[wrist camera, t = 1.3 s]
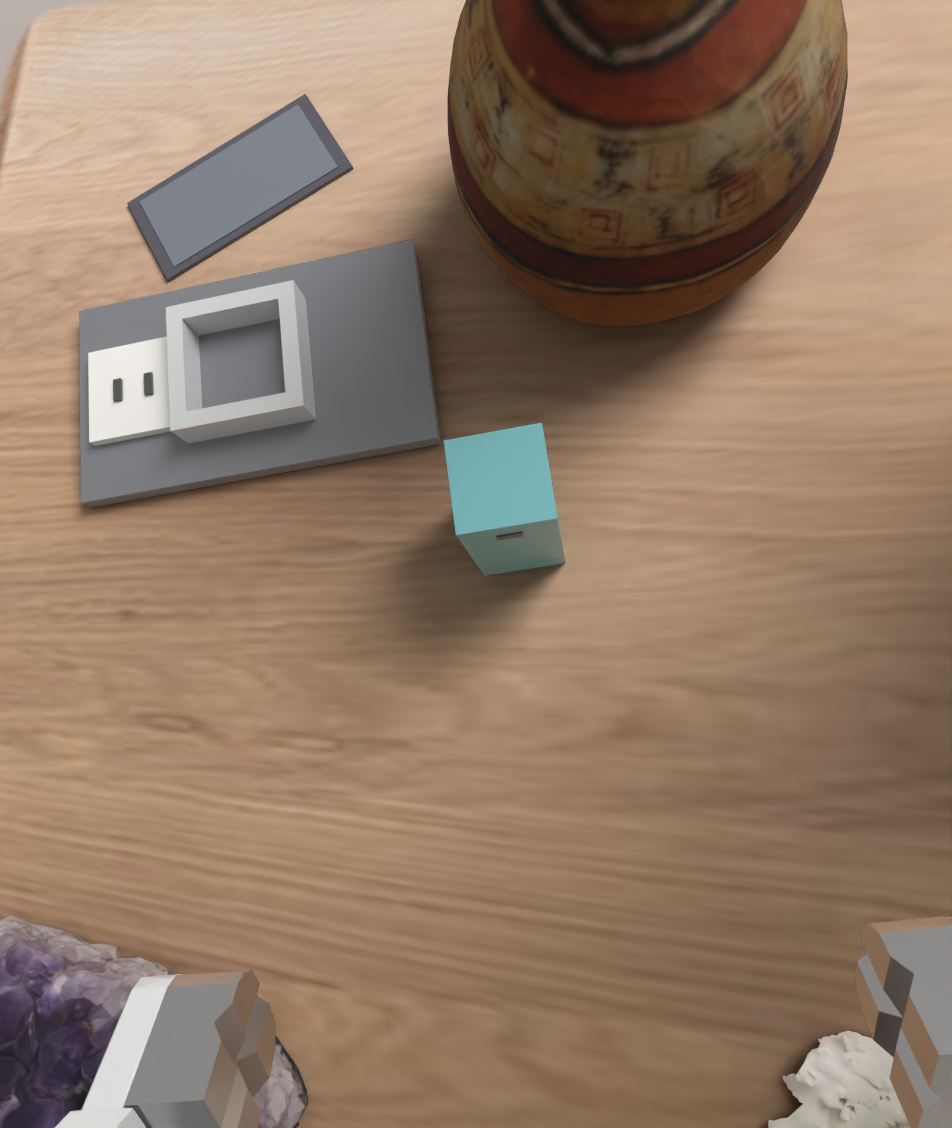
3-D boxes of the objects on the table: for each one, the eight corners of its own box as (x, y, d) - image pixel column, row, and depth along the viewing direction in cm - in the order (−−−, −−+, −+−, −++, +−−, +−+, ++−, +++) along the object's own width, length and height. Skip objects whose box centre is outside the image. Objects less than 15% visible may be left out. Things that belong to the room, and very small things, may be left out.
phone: (134, 211, 52) (126, 202, 51) (309, 103, 52) (304, 92, 51) (173, 286, 50) (166, 278, 49) (356, 175, 50) (351, 165, 49)
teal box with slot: (552, 485, 43) (541, 422, 34) (565, 564, 42) (557, 519, 33) (474, 499, 43) (443, 440, 35) (484, 577, 42) (455, 536, 34)
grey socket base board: (416, 249, 47) (404, 217, 45) (441, 443, 44) (430, 423, 42) (89, 319, 50) (58, 293, 47) (91, 507, 47) (58, 492, 44)
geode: (339, 956, 39) (258, 1067, 30) (301, 1187, 39) (205, 1380, 29) (-12, 874, 42) (-192, 951, 32) (-53, 1089, 42) (-249, 1233, 32)
